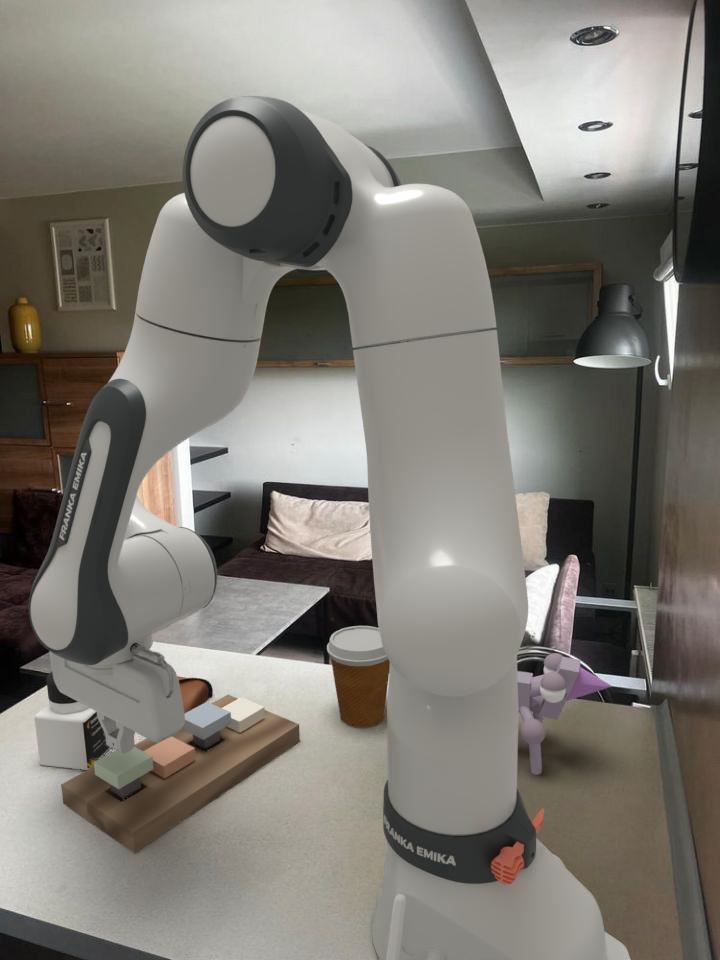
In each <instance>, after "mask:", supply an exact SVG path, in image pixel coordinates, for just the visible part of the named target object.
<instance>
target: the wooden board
mask: <svg viewBox="0 0 720 960" xmlns="http://www.w3.org/2000/svg"><path fill="white" fill-rule="evenodd" d="M237 699H239V698H237V697H236V696H233V695H230V694H226V695H224V696H223V697H221V698H218V699H217V700H215V701H214V702H212V703H211V704H213V705H215V706H218V707H220V708H222V707H224V706H226V705H228V704H230V703H232V702H233V701H235V700H237ZM219 732H220V740H219V741H218V742H216V743H214V744H213V745H211V746H209V747H208V748H206V749H205V748H203V747H201V746H199V745H197V744H195V743H193V734H191V733H189V732H187V731H184V730H182V729H181V730H180V731H179V732H178V733H176V734H175V735H173V736H172V737H174V738H176V739H178V740H180V741H182V742H184V743H186V744H188V745H190V746H192V747H194V748H195V758H196V760H194V761H193V762H191V763H190V764H188V765H186V766H185V767H183V768H181V769H180V770H178V771H176V772H175V773H173V774H171V775H170V776H168V777H166V778H163V777H161V776H159V775H158V774H156V773H154V772H152V771H149V772H148V773H146V774H144V775H142V776H141V777H140V780H141V788H139V789H138V790H136V791H134V792H133V793H131V794H129V795H128V796H126V797H124V798H122V797H120V796H119V795H117V794H116V793H114V792H113V791H111V787H110V784H109V783H108V782H106V781H104V780H103V779H101V778H100V777H98V776H96V775H95V769H94V766H92V767H91V768H90V769H89V770H84V772H81V773H80V774H78V775H76V776H74V777H72V778H70V779H68V780H67V781H65V782H63V783H61V784H60V787H61V788H60V789H61V795H62V804H64V805H65V806H66V807H68V808H69V809H71V810H72V811H73V812H75V813H76V814H77V815H79V816H80V817H82V818H83V819H84V820H86V821H88V822H89V823H90V824H92V825H93V826H95V827H96V828H97V829H99V830H100V831H102V832H103V833H105V834H106V835H107V836H109V837H111V838H112V839H113V840H114V841H116V842H117V843H118V844H121V846H123V847H124V848H126V849H127V850H129V851H130V852H131V853H133V854H136V853H137V852H139V851H141V850H142V849H144V848H145V847H147V846H148V845H149V844H151V843H152V842H154V841H156V840H157V839H158V838H160V837H161V836H163V835H164V834H166V833H167V832H168V831H170V830H172V829H173V828H174V827H176V826H177V825H179V824H180V823H182V822H184V821H185V820H186V819H188V818H190V816H192V815H193V814H195V813H196V812H198V811H199V810H201V809H203V808H204V807H205V806H207V805H208V804H210V803H211V802H212V801H214V800H216V799H217V798H218V797H220V796H221V795H223V794H224V793H226V792H227V791H229V790H231V789H232V788H234V787H235V786H236V785H237V784H239V783H240V782H242V781H244V780H245V779H246V778H247V777H249V776H251V775H253V774H254V773H255V772H257V771H258V770H259V769H261V768H263V767H264V766H265V765H267V764H269V763H270V762H272V761H273V760H275V758H277V757H279V756H280V755H281V754H283V753H285V752H286V751H288V750H289V749H291V748H292V747H294V746H295V745H296V744H298V743H299V742H301V738H300V735H301V734H300V724H299V723H297V722H295V721H293V720H290V719H288V718H286V717H284V716H283V717H282V716H280V715H278V714H276V713H273V712H271V711H268V710H266V709H265V718H264V719H262V720H260V721H259V722H257V723H256V724H254V725H252V726H251V727H249V728H247V729H246V730H244V731H242V732H241V733H239V732H237V731H235V730H233V729H231V728H229V727H225V728H223V729H221V730H219ZM134 744H135V743H134ZM156 744H157V743H155V742H153V741H151V740H149V739H147V738H144V739H142V740H140V741H139V742H137V743H136V744H135V746H134V747H136V748H138V749H140V750H141V751H145V750H147V749H148V748H150V747H152V746H154V745H156Z"/></svg>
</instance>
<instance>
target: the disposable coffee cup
mask: <svg viewBox="0 0 720 960" xmlns="http://www.w3.org/2000/svg"><path fill="white" fill-rule="evenodd" d="M326 650H327V653H328V656H329V657H330V663H331V667H332V674H333V678H334V680H333V681H334V684H335V685H334V686H335V694H336V698H337V704H338V711H339V716H340V717H339V718H340V720H341V722H343V723H344V724H345V725H347V726H350V727H354V728H370V727H373V726H377V725H378V724H380V723H381V722H382V721H383V720H384V717H385V712H386V711H385V710H386V704H387V702H386V701H387V695H388V687H389V669H390V661H389V659H388V657H387V656H386V653H385V651H384V648H383V645H382V641H381V637H380V632H379V627H376V626H372V625H354V626H348V627H344V628H339V630H336V631H334V632H333V633H332V634H331V635H330V637H329V642H328V643H327V645H326Z"/></svg>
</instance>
